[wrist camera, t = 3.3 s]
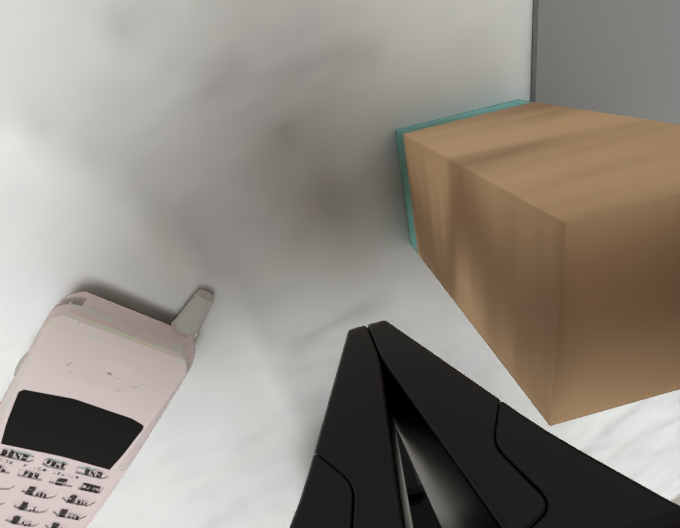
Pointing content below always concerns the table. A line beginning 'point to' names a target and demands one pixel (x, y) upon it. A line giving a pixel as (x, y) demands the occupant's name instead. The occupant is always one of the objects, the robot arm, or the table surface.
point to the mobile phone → (87, 406)
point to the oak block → (555, 245)
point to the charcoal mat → (608, 56)
